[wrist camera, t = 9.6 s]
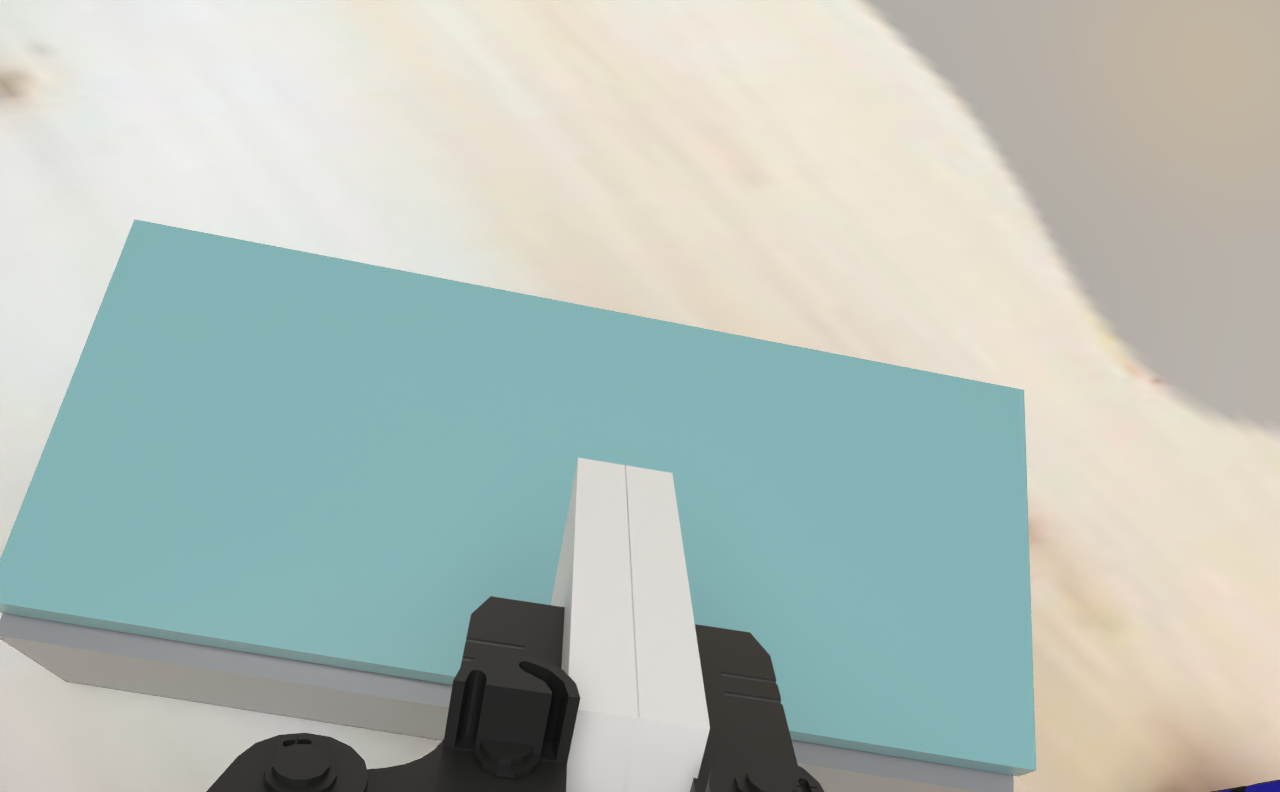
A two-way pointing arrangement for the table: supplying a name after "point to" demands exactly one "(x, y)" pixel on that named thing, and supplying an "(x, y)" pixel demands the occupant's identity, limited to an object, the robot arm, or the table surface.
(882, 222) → the table surface
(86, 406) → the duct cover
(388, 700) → the cable duct
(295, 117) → the table surface
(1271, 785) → the puzzle cube
